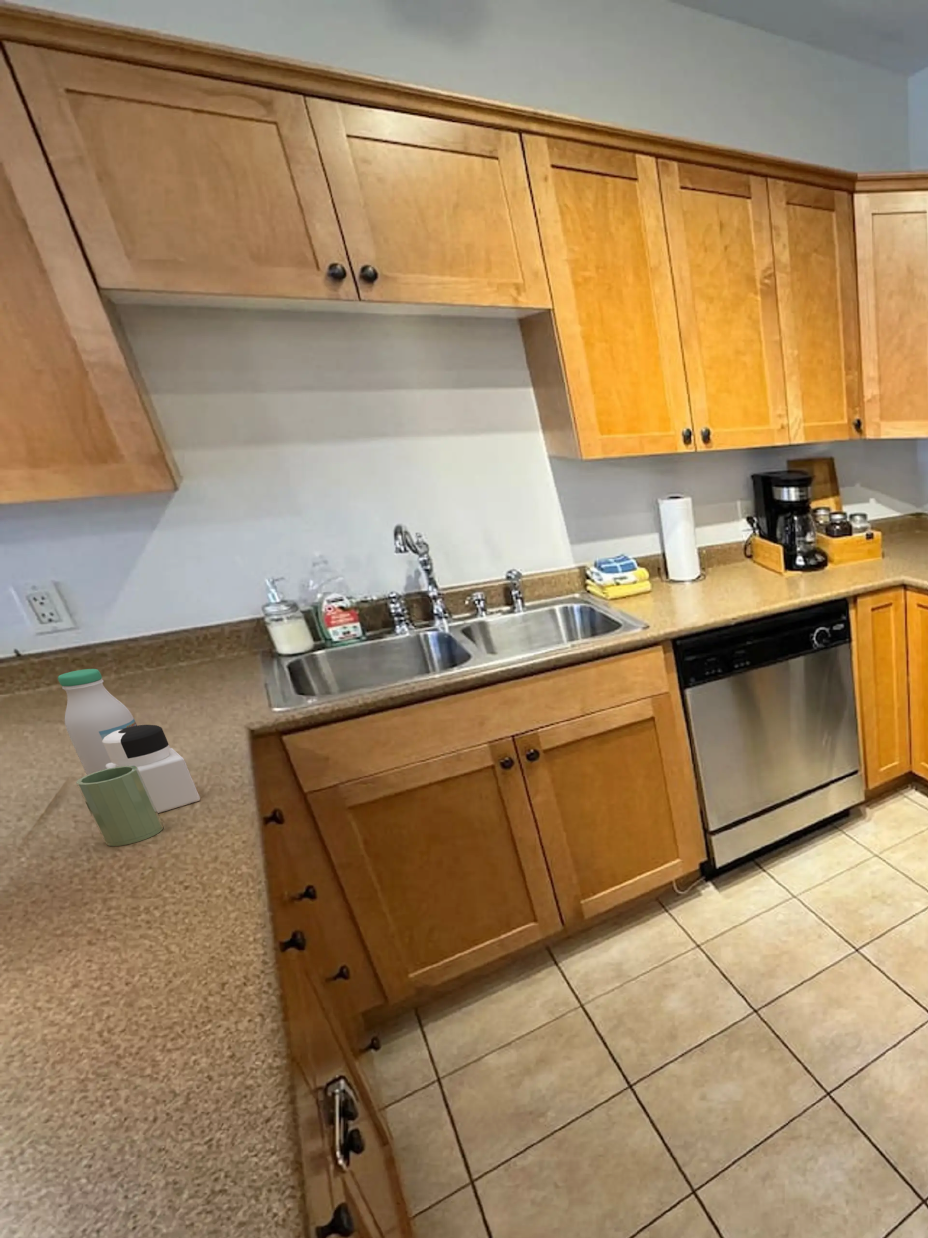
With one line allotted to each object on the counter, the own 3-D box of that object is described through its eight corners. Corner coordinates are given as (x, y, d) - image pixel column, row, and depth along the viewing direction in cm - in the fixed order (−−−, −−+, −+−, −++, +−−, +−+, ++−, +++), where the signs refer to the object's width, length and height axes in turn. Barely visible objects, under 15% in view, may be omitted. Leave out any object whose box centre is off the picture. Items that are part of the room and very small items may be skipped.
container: (189, 788, 122) (159, 716, 118) (201, 800, 118) (170, 726, 113) (124, 807, 116) (89, 732, 112) (134, 821, 112) (99, 743, 108)
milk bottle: (101, 798, 120) (47, 683, 113) (89, 786, 124) (37, 675, 117) (165, 779, 126) (117, 669, 119) (152, 769, 130) (105, 662, 123)
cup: (101, 851, 104) (71, 788, 101) (110, 834, 109) (81, 773, 105) (160, 836, 108) (133, 775, 104) (166, 820, 112) (140, 761, 109)
